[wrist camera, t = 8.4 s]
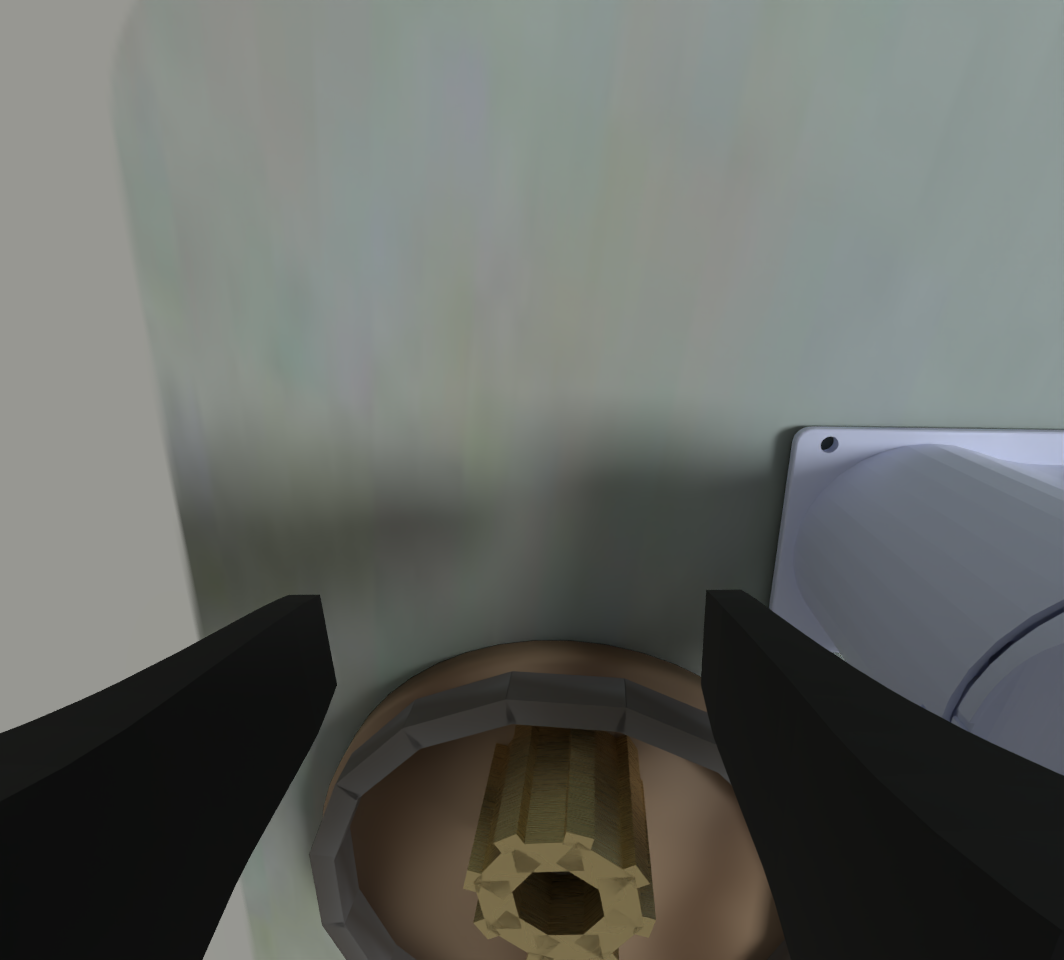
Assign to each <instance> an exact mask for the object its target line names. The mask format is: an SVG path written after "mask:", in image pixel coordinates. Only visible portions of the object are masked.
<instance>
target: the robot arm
mask: <svg viewBox="0 0 1064 960" xmlns="http://www.w3.org/2000/svg"><path fill="white" fill-rule="evenodd" d="M830 436H832V437H833V441H834V442H833V444H832V446H831V447H830V448H828V449H825V450H822V449H821V442H822V440H824V439H825V438H826V437H830ZM832 652H836V653H841V655H842V656H843V658H844V659H845V661H846V662H845V661H844V660H842V659H841V658H839V657H838V656H836V655H835V654H833V653H832ZM336 686H337V683H336V677H335V672H334V667H333V662H332V656H331V651H330V646H329V641H328V635H327V630H326V625H325V620H324V614H323V609H322V604H321V598H320V595H288V596H285V597H283V598H280V599H278V600H276V601H274V602H272V603H269V604H267V605H265V606H263V607H261V608H259V609H258V610H256V611H254V612H252V613H250V614H248V615H246V616H244V617H242V618H240V619H239V620H237V621H235V622H233V623H231V624H229V625H228V626H226V627H224V628H222V629H220V630H218V631H217V632H215V633H213V634H211V635H209V636H207V637H205V638H204V639H202V640H200V641H198V642H196V643H194V644H193V645H191V646H189V647H187V648H185V649H183V650H181V651H180V652H178V653H176V654H174V655H172V656H170V657H168V658H166V659H164V660H162V661H160V662H158V663H156V664H154V665H152V666H150V667H148V668H146V669H144V670H142V671H140V672H138V673H136V674H134V675H132V676H130V677H128V678H126V679H124V680H122V681H120V682H119V683H116V684H114V685H112V686H110V687H108V688H106V689H104V690H102V691H100V692H97V693H95V694H93V695H91V696H89V697H86V698H84V699H82V700H80V701H78V702H75V703H73V704H71V705H68V706H66V707H64V708H62V709H59V710H57V711H54V712H52V713H50V714H47V715H45V716H43V717H40V718H38V719H36V720H33V721H31V722H28V723H26V724H23V725H21V726H19V727H16V728H13V729H10V730H8V731H5V732H3V733H0V960H203V957H204V955H205V952H206V950H207V948H208V945H209V944H210V941H211V939H212V937H213V935H214V932H215V930H216V928H217V926H218V923H219V921H220V919H221V916H222V914H223V912H224V910H225V908H226V905H227V903H228V901H229V898H230V896H231V894H232V892H233V890H234V887H235V885H236V883H237V881H238V879H239V877H240V875H241V873H242V872H243V870H244V868H245V866H246V864H247V862H248V860H249V858H250V856H251V854H252V852H253V850H254V849H255V847H256V845H257V843H258V841H259V840H260V838H261V836H262V834H263V833H264V831H265V829H266V827H267V825H268V824H269V822H270V820H271V818H272V816H273V815H274V813H275V811H276V809H277V807H278V806H279V804H280V802H281V800H282V798H283V797H284V795H285V793H286V791H287V790H288V788H289V786H290V784H291V782H292V781H293V779H294V777H295V775H296V773H297V772H298V770H299V768H300V766H301V764H302V762H303V761H304V759H305V757H306V755H307V753H308V751H309V750H310V748H311V746H312V744H313V742H314V740H315V738H316V736H317V735H318V732H319V730H320V727H321V725H322V722H323V720H324V718H325V715H326V713H327V710H328V707H329V705H330V702H331V699H332V697H333V694H334V691H335V689H336ZM701 688H702V692H703V696H704V701H705V705H706V709H707V713H708V717H709V721H710V725H711V729H712V733H713V737H714V740H715V742H716V745H717V748H718V751H719V753H720V756H721V759H722V761H723V764H724V767H725V769H726V772H727V775H728V777H729V780H730V783H731V785H732V788H733V790H734V793H735V796H736V798H737V801H738V803H739V806H740V809H741V811H742V814H743V816H744V819H745V822H746V824H747V827H748V830H749V832H750V835H751V837H752V840H753V843H754V845H755V848H756V850H757V853H758V856H759V858H760V861H761V863H762V866H763V869H764V872H765V875H766V878H767V881H768V884H769V887H770V890H771V893H772V896H773V899H774V902H775V905H776V909H777V913H778V916H779V920H780V923H781V927H782V930H783V934H784V937H785V941H786V944H787V948H788V951H789V955H790V958H791V960H1064V430H1035V429H964V428H894V427H823V426H810V427H804V428H803V429H801V430H799V431H798V432H797V433H796V434H795V435H794V438H793V441H792V447H791V454H790V461H789V468H788V476H787V483H786V490H785V497H784V504H783V511H782V518H781V525H780V533H779V540H778V547H777V554H776V561H775V568H774V575H773V582H772V590H771V597H770V604H769V608H768V607H766V606H765V605H763V604H762V603H761V602H759V601H758V600H756V599H755V598H753V597H752V596H750V595H749V594H747V593H746V592H744V591H742V590H706V606H705V622H704V639H703V656H702V673H701Z"/></svg>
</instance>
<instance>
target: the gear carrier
mask: <svg viewBox="0 0 1064 960" xmlns="http://www.w3.org/2000/svg"><path fill="white" fill-rule="evenodd" d="M516 724H518V725H531V726H545V727H559V728H572V729H586V730H599V731H607V732H609V733H610V734H612V735H613V736H615V737H616V738H618V737H620V736H622V735H628V736H629V738H630V739H631V740H632V742H633V743H634V745H635V746H636V747H637V749H638V758H639V769H640V779H642V780H643V788H644V799H645V809H646V819H647V830H648V840H649V851H650V861H651V872H652V882H653V893H654V903H655V914H656V921H655V924H654V926H653V929H652V931H651V933H650V936H649V938H647V937H643V936H640V935H636V934H635V935H633V936H632V937H631V938H630V939H628V940H627V941H626V942H625V943H624V944H622V945H621V946H620V947H619V960H791V958H790V955H789V951H788V948H787V944H786V941H785V937H784V934H783V930H782V927H781V923H780V920H779V916H778V913H777V909H776V905H775V902H774V899H773V896H772V893H771V890H770V887H769V884H768V881H767V878H766V875H765V872H764V869H763V866H762V863H761V861H760V858H759V856H758V853H757V850H756V848H755V845H754V843H753V840H752V837H751V835H750V832H749V830H748V827H747V824H746V822H745V819H744V816H743V814H742V811H741V809H740V806H739V803H738V801H737V798H736V796H735V793H734V790H733V788H732V785H731V783H730V780H729V777H728V775H727V772H726V769H725V767H724V764H723V761H722V759H721V756H720V753H719V751H718V748H717V745H716V742H715V740H714V737H713V733H712V729H711V725H710V721H709V717H708V713H707V709H706V705H705V701H704V696H703V692H702V688H701V677H700V676H698V675H696V674H694V673H692V672H690V671H688V670H686V669H684V668H682V667H679V666H677V665H675V664H672V663H669V662H667V661H664V660H661V659H658V658H655V657H652V656H649V655H647V654H644V653H640V652H636V651H632V650H627V649H623V648H618V647H614V646H610V645H604V644H596V643H587V642H578V641H526V642H517V643H509V644H500V645H496V646H491V647H487V648H483V649H479V650H475V651H471V652H467V653H464V654H461V655H459V656H456V657H453V658H451V659H448V660H446V661H443V662H440V663H438V664H436V665H434V666H432V667H430V668H428V669H427V670H425V671H423V672H421V673H419V674H417V675H415V676H414V677H412V678H410V679H409V680H408V681H406V682H405V683H404V684H402V685H401V686H400V687H398V688H397V689H396V690H394V691H393V692H392V693H390V694H389V695H388V696H387V697H386V698H385V699H384V700H383V701H382V702H381V703H380V704H379V705H378V706H377V707H376V708H375V709H374V710H373V711H372V712H371V713H370V715H369V716H368V717H367V719H366V720H365V722H364V723H363V724H362V726H361V727H360V729H359V730H358V732H357V733H356V735H355V736H354V738H353V740H352V742H351V744H350V745H349V747H348V749H347V751H346V753H345V754H344V756H343V758H342V760H341V762H340V764H339V766H338V768H337V770H336V772H335V774H334V776H333V779H332V781H331V783H330V786H329V789H328V793H327V797H326V800H325V804H324V809H323V818H322V821H321V824H320V827H319V829H318V832H317V835H316V837H315V840H314V843H313V845H312V848H311V851H310V854H309V855H310V861H311V866H312V872H313V877H314V883H315V888H316V894H317V900H318V905H319V911H320V916H321V922H322V926H323V927H324V928H325V930H326V931H327V933H328V934H329V936H330V937H331V938H332V940H333V941H334V943H335V944H336V946H337V947H338V948H339V950H340V951H341V953H342V954H343V956H344V957H345V959H346V960H526V956H527V952H525V951H524V950H522V949H520V948H519V947H517V946H515V945H513V944H512V943H510V942H508V941H507V940H505V939H503V938H502V937H500V936H497V937H494V938H491V939H487V938H486V937H485V936H484V935H483V933H482V932H481V931H480V930H479V929H478V928H477V927H476V925H475V924H474V923H473V922H474V917H475V912H476V906H477V901H478V896H477V893H476V892H473V891H470V890H466V889H463V886H464V882H465V877H466V873H467V869H468V864H469V860H470V855H471V851H472V847H473V842H474V838H475V833H476V829H477V824H478V820H479V816H480V811H481V807H482V802H483V798H484V794H485V789H486V785H487V780H488V776H489V772H490V767H491V763H492V758H493V754H494V750H495V746H496V743H500V744H504V745H508V743H509V742H510V741H511V740H512V739H513V737H514V732H515V727H516ZM552 873H555V874H560V875H568V874H572V873H571V872H569V871H562V872H552Z"/></svg>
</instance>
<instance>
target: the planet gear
mask: <svg viewBox="0 0 1064 960" xmlns="http://www.w3.org/2000/svg"><path fill="white" fill-rule="evenodd" d="M562 871H569V872H571V873H572V874H568V875H560V874H555V873H552V872H562ZM463 889H466V890H470V891H473V892H476V893H477V896H478V901H477V906H476V912H475V917H474V922H473V923H474V924H475V925H476V927H477V928H478V929H479V930H480V931H481V932H482V933H483V935H484V936H485V937H486V938H487V939H491V938H494V937H497V936H500V937H502V938H503V939H505V940H507V941H508V942H510V943H512V944H513V945H515V946H517V947H519V948H520V949H522V950H524V951H525V952H527V956H526V960H619V947H620V946H621V945H622V944H624V943H625V942H626V941H627V940H628V939H630V938H631V937H632V936H633V935H635V934H636V935H640V936H643V937H647V938H649V936H650V933H651V931H652V929H653V926H654V924H655V921H656V914H655V903H654V893H653V882H652V872H651V861H650V851H649V840H648V830H647V819H646V809H645V799H644V788H643V780H642V779H640V769H639V758H638V749H637V747H636V746H635V745H634V743H633V742H632V740H631V739H630V738H629V736H628V735H622V736H620V737H618V738H616V737H615V736H613V735H612V734H610V733H609V732H607V731H599V730H586V729H572V728H559V727H545V726H531V725H518V724H516V727H515V732H514V737H513V739H512V740H511V741H510V742H509V743H508V745H504V744H500V743H496V746H495V750H494V754H493V758H492V763H491V767H490V772H489V776H488V780H487V785H486V789H485V794H484V798H483V802H482V807H481V811H480V816H479V820H478V824H477V829H476V833H475V838H474V842H473V847H472V851H471V855H470V860H469V864H468V869H467V873H466V877H465V882H464V886H463Z"/></svg>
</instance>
